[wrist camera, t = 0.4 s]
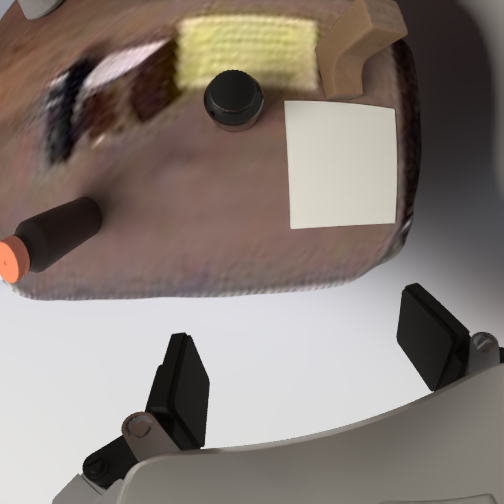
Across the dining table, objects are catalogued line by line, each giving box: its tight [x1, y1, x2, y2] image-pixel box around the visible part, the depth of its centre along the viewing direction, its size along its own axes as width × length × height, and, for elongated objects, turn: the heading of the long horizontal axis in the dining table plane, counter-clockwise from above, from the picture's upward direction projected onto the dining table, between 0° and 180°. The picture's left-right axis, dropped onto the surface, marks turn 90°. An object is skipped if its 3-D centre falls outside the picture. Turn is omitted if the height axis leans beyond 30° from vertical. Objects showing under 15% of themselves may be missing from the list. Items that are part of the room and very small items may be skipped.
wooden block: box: [315, 0, 408, 100], centre depth 24 cm, size 9×4×18 cm, turn 9°
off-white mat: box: [284, 101, 397, 229], centre depth 37 cm, size 19×18×1 cm
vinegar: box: [0, 198, 101, 283], centre depth 29 cm, size 7×7×20 cm
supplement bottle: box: [204, 70, 264, 132], centre depth 29 cm, size 7×7×12 cm
